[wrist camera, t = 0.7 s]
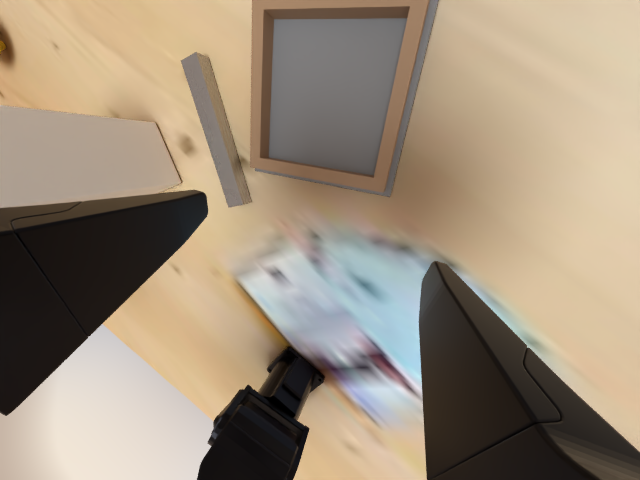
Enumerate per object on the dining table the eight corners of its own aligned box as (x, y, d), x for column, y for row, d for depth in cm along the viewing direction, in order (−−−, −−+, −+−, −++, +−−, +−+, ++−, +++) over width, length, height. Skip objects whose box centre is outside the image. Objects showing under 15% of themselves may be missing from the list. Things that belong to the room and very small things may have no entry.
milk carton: (123, 143, 30) (-236, 133, 13) (157, 121, 27) (-249, 75, 11) (148, 197, 32) (-143, 248, 15) (183, 182, 29) (-131, 225, 12)
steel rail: (251, 202, 26) (243, 204, 25) (237, 204, 27) (228, 207, 26) (208, 57, 23) (196, 52, 21) (193, 65, 23) (180, 60, 22)
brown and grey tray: (390, 195, 21) (388, 200, 19) (259, 170, 25) (245, 171, 23) (440, -6, 16) (444, -29, 14) (263, 0, 19) (246, -17, 17)
